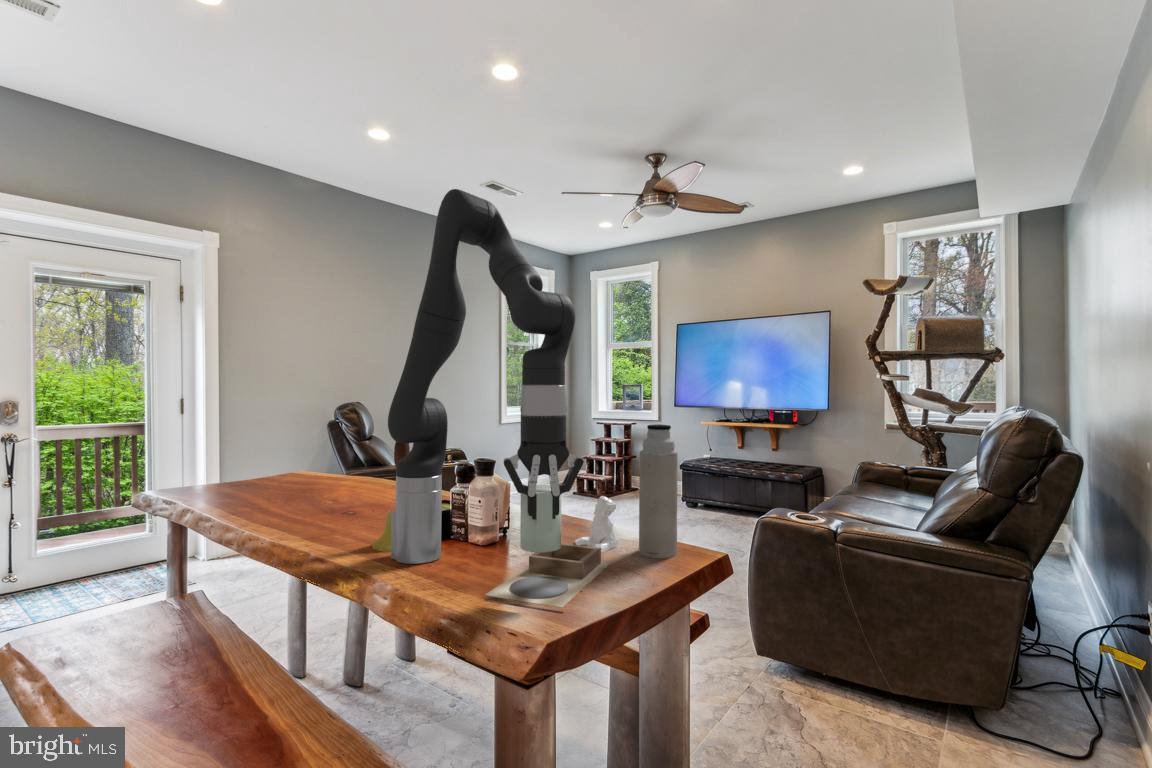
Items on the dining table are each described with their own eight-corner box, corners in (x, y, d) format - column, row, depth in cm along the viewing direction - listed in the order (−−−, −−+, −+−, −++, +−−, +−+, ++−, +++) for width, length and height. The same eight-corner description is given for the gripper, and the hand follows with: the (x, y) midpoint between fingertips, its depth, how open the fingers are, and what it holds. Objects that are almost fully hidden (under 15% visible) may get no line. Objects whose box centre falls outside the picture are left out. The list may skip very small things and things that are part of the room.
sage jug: (519, 542, 100) (519, 485, 100) (558, 540, 101) (558, 484, 101) (522, 558, 90) (522, 495, 90) (566, 556, 91) (566, 494, 91)
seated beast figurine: (572, 547, 126) (572, 494, 126) (604, 543, 130) (605, 491, 131) (594, 559, 118) (594, 501, 118) (628, 553, 122) (628, 498, 122)
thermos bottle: (631, 557, 119) (632, 424, 119) (651, 549, 125) (652, 423, 125) (664, 565, 114) (665, 426, 114) (683, 556, 120) (684, 424, 120)
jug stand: (484, 600, 94) (484, 576, 94) (544, 560, 116) (544, 541, 116) (561, 613, 89) (562, 588, 89) (609, 569, 111) (609, 548, 111)
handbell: (367, 553, 121) (369, 436, 121) (376, 538, 133) (377, 431, 133) (427, 550, 123) (428, 435, 123) (430, 536, 135) (431, 431, 135)
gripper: (581, 411, 98) (581, 512, 98) (500, 412, 96) (499, 514, 95) (589, 413, 90) (588, 522, 90) (501, 414, 88) (500, 525, 88)
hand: (543, 517), depth 93 cm, fingers closed on sage jug, 2 cm apart
